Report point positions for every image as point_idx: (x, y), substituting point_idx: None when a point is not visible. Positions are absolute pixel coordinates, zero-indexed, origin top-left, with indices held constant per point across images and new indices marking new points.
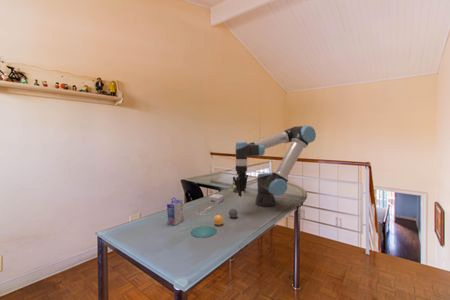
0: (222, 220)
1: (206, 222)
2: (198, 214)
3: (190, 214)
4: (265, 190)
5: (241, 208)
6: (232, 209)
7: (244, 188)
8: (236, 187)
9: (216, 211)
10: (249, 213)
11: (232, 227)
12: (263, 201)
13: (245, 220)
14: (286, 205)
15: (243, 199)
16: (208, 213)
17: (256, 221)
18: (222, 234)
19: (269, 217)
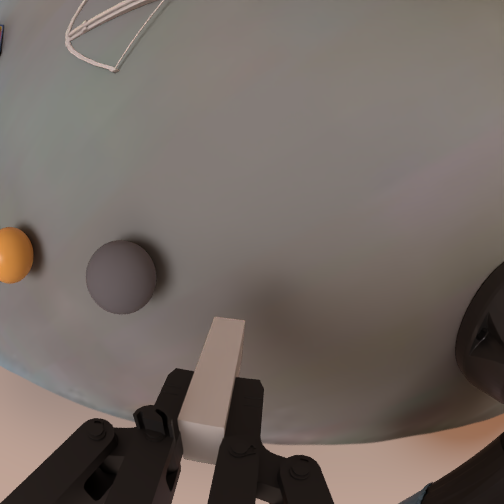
0: (15, 282)
1: (11, 171)
2: (66, 32)
3: (55, 6)
4: (497, 443)
5: (367, 215)
6: (94, 292)
7: (270, 497)
8: (53, 463)
9: (170, 64)
10: (282, 328)
11: (52, 323)
12: (476, 359)
13: (152, 351)
14: (482, 407)
15: (238, 375)
16: (95, 63)
17: None
18: (5, 312)
19: (277, 429)
